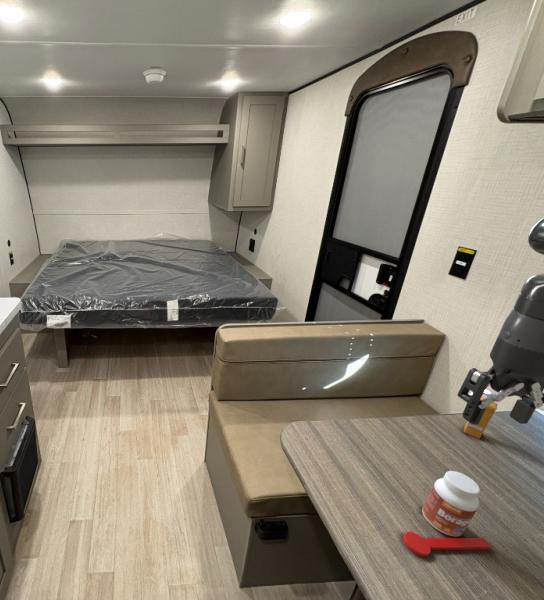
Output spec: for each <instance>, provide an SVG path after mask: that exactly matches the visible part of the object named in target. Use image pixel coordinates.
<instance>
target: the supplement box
mask: <svg viewBox="0 0 544 600" xmlns="http://www.w3.org/2000/svg"><path fill="white" fill-rule="evenodd" d="M483 399H485V397H481V399H480V400H483ZM497 408H498V402H496V401H495V402H493V403H491V404H490V405H489V406H487V407H486V408H485V409H486V410H485V412H484V414H483V416H482V418H481V420H480V422H479V424H478V425H473V424H471V423H469V422H468V421H467V420H466V421H467V422H466V424H465V425H464V428H463V432H464V434H467V435H469V436H472V437H474V438H476V439H481V437H482V435H483V433H484V432H485V430H486V428H487V427H488V424H489V423H490V421H491V419H492V418H493V416H494V415H495V412H496V411H497Z"/></svg>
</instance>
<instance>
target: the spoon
mask: <svg viewBox="0 0 544 600" xmlns="http://www.w3.org/2000/svg"><path fill="white" fill-rule="evenodd" d="M402 541H403V543H404V544H405V546H406V547H407V548H408V549H409V550H410V551H411V552H412V553H413V554H415V555H416V556H419V557H423V558H424V557H425V558H426V557H428V556H430V554H431V552H432V551H456V550H458V551H461V550H463V551H464V550H467V551H468V550H472V551H473V550H474V551H475V550H479V551H480V550H492V546H491V544H490V543H488V542H487V540H486V539H485V538H484V537H445V538H444V537H443V538H442V537H440V538H439V537H438V538H437V537H435V538H433V537H432V538H431V537H430V538H427V537H425V538H424V537H423V536H421V535H419V534H418V533H417V532H413V531H407V532H405V533H404V535H403V539H402Z"/></svg>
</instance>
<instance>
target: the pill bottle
mask: <svg viewBox="0 0 544 600" xmlns="http://www.w3.org/2000/svg"><path fill="white" fill-rule="evenodd" d="M480 492H481V489H480V486H479V485H478V483H477V482H475V481H474V479H472V478H471V477H469V476H468V475H466V474H464V473H462V472H459V471H455V470H448V471H446V472H445V474H444V475H443V477H442V478H438V479H436V481H435V482H434V484H433V486H432V488H431V490H430V492H429V494H428V496H427V498H426V500H425V502H424V504H423V506H422V509H421V511H422V515H423V517H424V519H425V520H426V521H427V523H428V524H430V526H431V527H433V528H434V529H435V530H437V531H439V532H440V533H442V534H443V535H445V536H446V535H447V536H449V537H453V538H458V537H460V536H462V535H463V534H464V533H465V532H466V530H467V528H468V526H469V525H470V523H471V521H472V519H473V517H474V516H475V514H476V512H477V510H478V508H479V507H480V500H479V498H478V496H479V494H480Z"/></svg>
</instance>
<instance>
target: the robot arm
mask: <svg viewBox="0 0 544 600" xmlns="http://www.w3.org/2000/svg"><path fill="white" fill-rule="evenodd" d="M527 242H528V245H529V247H530V248H531V249H532V250H533V251H534V252H536V253H538V254H540V255H542V256H544V217H543V218H541V219H540V220H539V221H538V222H536V223H535V224H534V225H533V226H532V228H531V230H529V233H528V236H527ZM495 339H496V340H495V342H494V344H493V346H492V348H491V351H490V353H489V358H490V359H491V362H492V366H491V367H490V368H489V369H488V370H487V371H481V370H480V369H477V368H476V367H473V368H470V369H469V370H468V373H467V374H466V376H465V379H464V380H463V383H462V385H461V386H460V388H459V390H458V392H457V397H458V398H460V399H461V400H463V401H464V402H466V405H465V407H464V410H463V412H462V413H461V414H462V418H463V419H464V420H465V421H468V422H469V423H471V424H473V425H478V424H479V422H480V420H481V418H482V416H483V414H484V412H485V410H486V409H485V408H486V407H487V406H489V405H490V404H491V403H493V402H495V403H500V402H501V401H504V399H506V398H508V397H509V398H511V397H514V396H516V397H519V399H518V398H517V400H516V401H515V403H514V405H513V407H512V409H511V411H510V413H509V417H510V418H511V419H512V420H513V421H516V422H517V423H519V424H521V425H524V424H528V423H529V421H530V419H531V418H532V416H533V414H534V412H535V411H536V409H537V408H541V407H542V406H543V405H544V392H543V391H544V273H541V274H535V275H532V276H530V277H529V278H527V279H526V280H525V282H524V284H523V285H522V288H521V289H520V292H519V294H518V296H517V298H516V300H515V302H514V305H513V307H512V309H511V311H510V313H509V314H508V315H507V317H506V318H505V320H504V322H503V323H502V326H501V328H500V330H499V333H498V335H497V337H496V338H495ZM489 386H490V388H491V390H492V391H494V392H492V391H491V390H490V389H488V387H489ZM469 392H470V393H469ZM483 395H485V396H486V397H484V399H483V400H480V399H481V398H483Z"/></svg>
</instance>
